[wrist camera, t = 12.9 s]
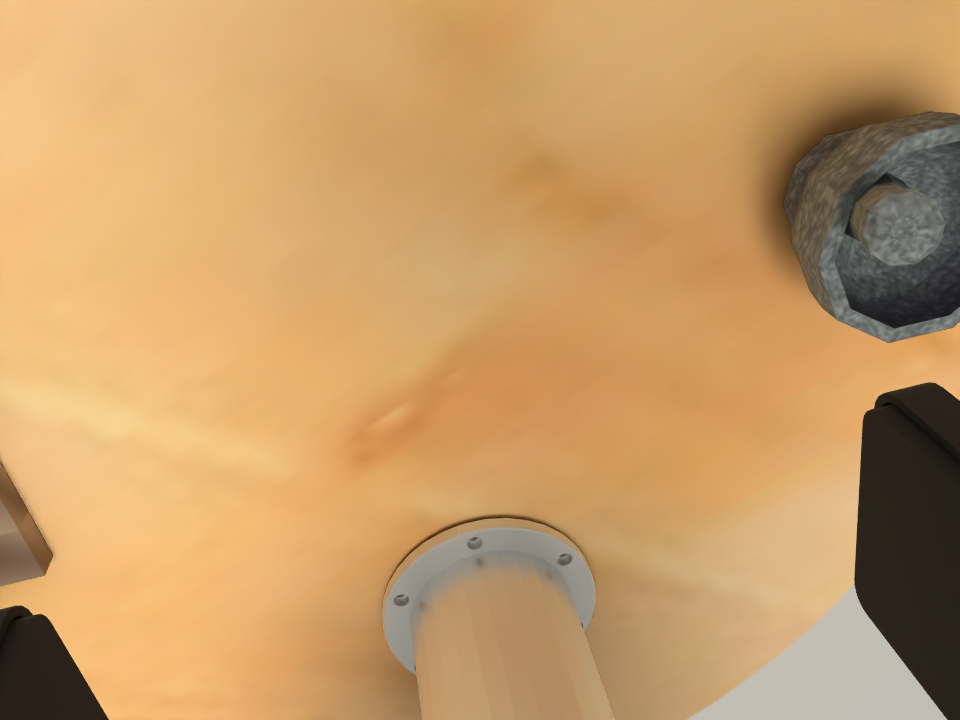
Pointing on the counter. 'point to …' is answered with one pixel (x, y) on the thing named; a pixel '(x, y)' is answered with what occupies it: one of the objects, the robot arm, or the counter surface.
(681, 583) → the counter surface
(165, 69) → the counter surface
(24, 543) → the stand
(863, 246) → the mortar and pestle
